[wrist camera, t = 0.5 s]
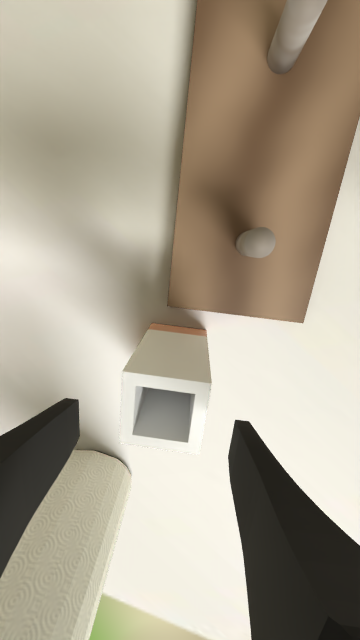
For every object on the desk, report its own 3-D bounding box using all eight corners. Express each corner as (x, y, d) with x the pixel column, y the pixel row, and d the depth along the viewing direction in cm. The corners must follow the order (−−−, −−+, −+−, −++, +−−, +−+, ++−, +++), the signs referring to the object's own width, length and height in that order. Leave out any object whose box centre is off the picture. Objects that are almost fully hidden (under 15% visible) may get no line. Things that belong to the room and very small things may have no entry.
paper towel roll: (138, 496, 25) (-124, 1598, 5) (83, 499, 26) (-358, 1469, 5) (122, 439, 23) (-453, 1910, 3) (63, 444, 24) (-759, 1646, 3)
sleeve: (206, 330, 19) (211, 383, 12) (198, 378, 21) (199, 455, 13) (151, 322, 20) (122, 371, 12) (147, 371, 21) (118, 443, 13)
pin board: (392, -41, 13) (491, -187, 9) (297, 319, 19) (327, 340, 14) (204, -55, 13) (207, -202, 9) (168, 303, 19) (160, 319, 15)
